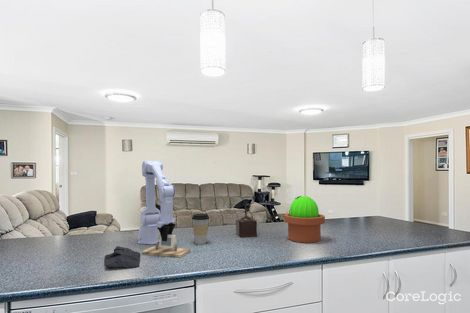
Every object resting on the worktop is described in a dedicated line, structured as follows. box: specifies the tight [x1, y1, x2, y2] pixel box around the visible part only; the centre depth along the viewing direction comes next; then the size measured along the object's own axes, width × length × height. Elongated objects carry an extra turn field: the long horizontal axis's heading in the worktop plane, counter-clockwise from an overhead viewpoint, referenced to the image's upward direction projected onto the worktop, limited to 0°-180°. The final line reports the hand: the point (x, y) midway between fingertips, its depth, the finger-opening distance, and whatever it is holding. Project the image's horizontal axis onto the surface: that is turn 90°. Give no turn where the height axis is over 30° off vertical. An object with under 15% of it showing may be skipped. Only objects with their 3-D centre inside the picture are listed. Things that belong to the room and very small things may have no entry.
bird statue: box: [235, 203, 258, 239], centre depth 177 cm, size 16×11×18 cm
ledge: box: [141, 242, 191, 258], centre depth 137 cm, size 20×10×4 cm, turn 74°
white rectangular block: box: [158, 234, 177, 248], centre depth 137 cm, size 7×3×6 cm, turn 74°
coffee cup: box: [191, 213, 210, 245], centre depth 156 cm, size 9×9×15 cm
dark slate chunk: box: [104, 245, 142, 270], centre depth 124 cm, size 15×22×5 cm
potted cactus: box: [283, 195, 326, 244], centre depth 164 cm, size 22×22×25 cm
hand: (166, 240), depth 137 cm, fingers closed on white rectangular block, 3 cm apart
